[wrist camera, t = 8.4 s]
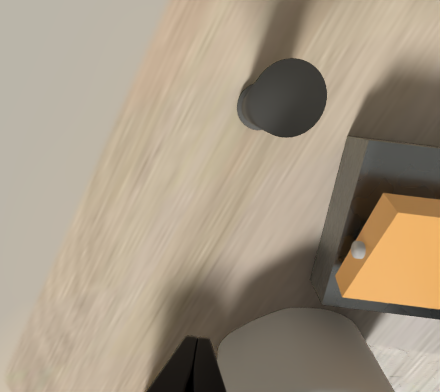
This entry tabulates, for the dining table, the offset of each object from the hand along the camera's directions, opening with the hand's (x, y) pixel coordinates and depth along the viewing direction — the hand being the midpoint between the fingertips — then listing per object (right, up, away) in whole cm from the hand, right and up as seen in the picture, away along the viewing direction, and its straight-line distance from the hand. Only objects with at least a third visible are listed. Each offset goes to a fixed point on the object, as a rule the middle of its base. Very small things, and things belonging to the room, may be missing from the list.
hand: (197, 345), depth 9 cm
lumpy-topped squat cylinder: (+8, -10, +16) cm, 20 cm away
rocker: (+14, +1, +6) cm, 15 cm away
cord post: (+4, +11, +9) cm, 15 cm away
